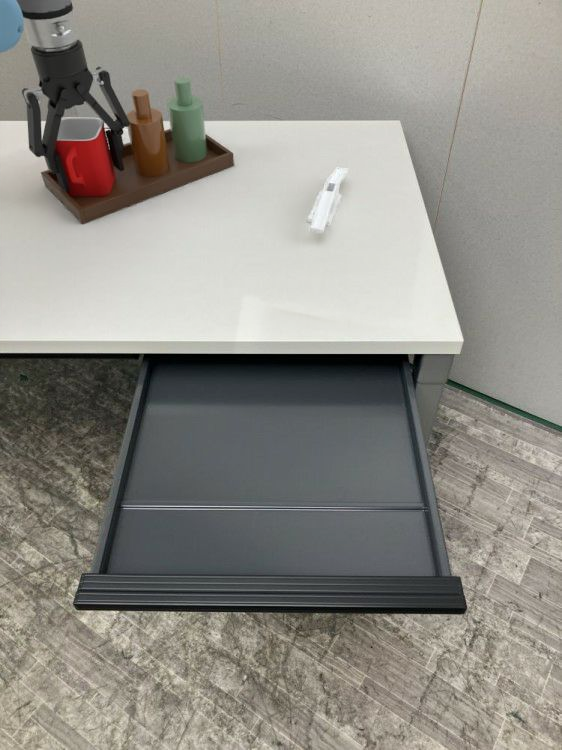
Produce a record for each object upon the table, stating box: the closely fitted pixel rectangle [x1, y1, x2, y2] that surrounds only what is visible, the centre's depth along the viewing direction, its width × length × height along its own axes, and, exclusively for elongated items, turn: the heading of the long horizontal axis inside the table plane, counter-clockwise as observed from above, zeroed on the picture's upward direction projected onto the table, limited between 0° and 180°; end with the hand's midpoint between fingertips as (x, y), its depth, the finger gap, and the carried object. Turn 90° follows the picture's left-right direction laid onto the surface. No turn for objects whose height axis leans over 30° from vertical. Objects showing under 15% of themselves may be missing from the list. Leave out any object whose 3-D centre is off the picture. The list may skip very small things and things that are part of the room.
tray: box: [40, 128, 235, 225], centre depth 110 cm, size 32×16×3 cm, turn 128°
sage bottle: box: [166, 76, 207, 162], centre depth 110 cm, size 6×6×14 cm
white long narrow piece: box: [306, 166, 350, 234], centre depth 102 cm, size 4×20×5 cm, turn 164°
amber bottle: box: [126, 89, 170, 177], centre depth 106 cm, size 6×6×14 cm
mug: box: [55, 116, 115, 197], centre depth 102 cm, size 12×8×11 cm
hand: (92, 177), depth 105 cm, fingers open, 10 cm apart
